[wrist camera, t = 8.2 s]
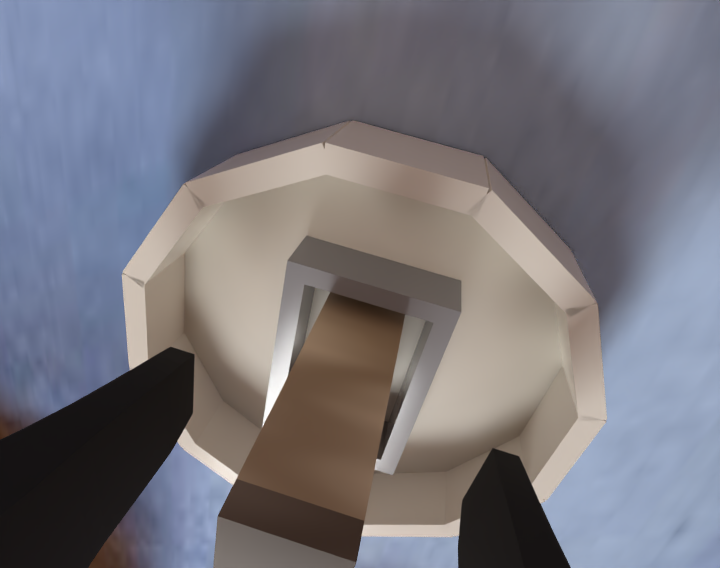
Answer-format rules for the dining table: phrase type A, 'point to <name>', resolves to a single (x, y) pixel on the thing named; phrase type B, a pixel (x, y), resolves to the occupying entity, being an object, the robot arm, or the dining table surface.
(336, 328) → the tan cardboard box
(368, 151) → the beige faceted bowl
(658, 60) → the dining table surface
